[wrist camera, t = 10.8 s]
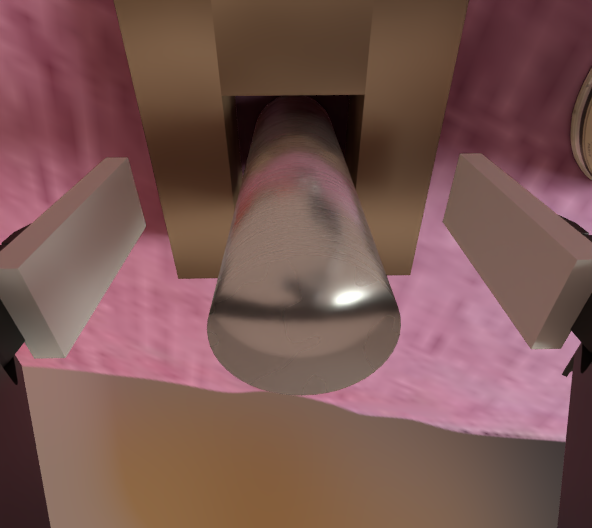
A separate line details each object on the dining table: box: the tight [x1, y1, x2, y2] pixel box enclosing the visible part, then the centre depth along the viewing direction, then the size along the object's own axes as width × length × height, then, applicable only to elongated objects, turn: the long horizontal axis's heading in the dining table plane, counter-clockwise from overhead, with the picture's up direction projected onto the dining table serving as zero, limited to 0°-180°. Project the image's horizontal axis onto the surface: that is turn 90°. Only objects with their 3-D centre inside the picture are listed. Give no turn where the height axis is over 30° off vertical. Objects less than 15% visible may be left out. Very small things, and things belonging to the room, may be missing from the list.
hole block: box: [114, 0, 469, 279], centre depth 18 cm, size 12×12×4 cm
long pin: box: [207, 95, 401, 395], centre depth 14 cm, size 4×4×14 cm
